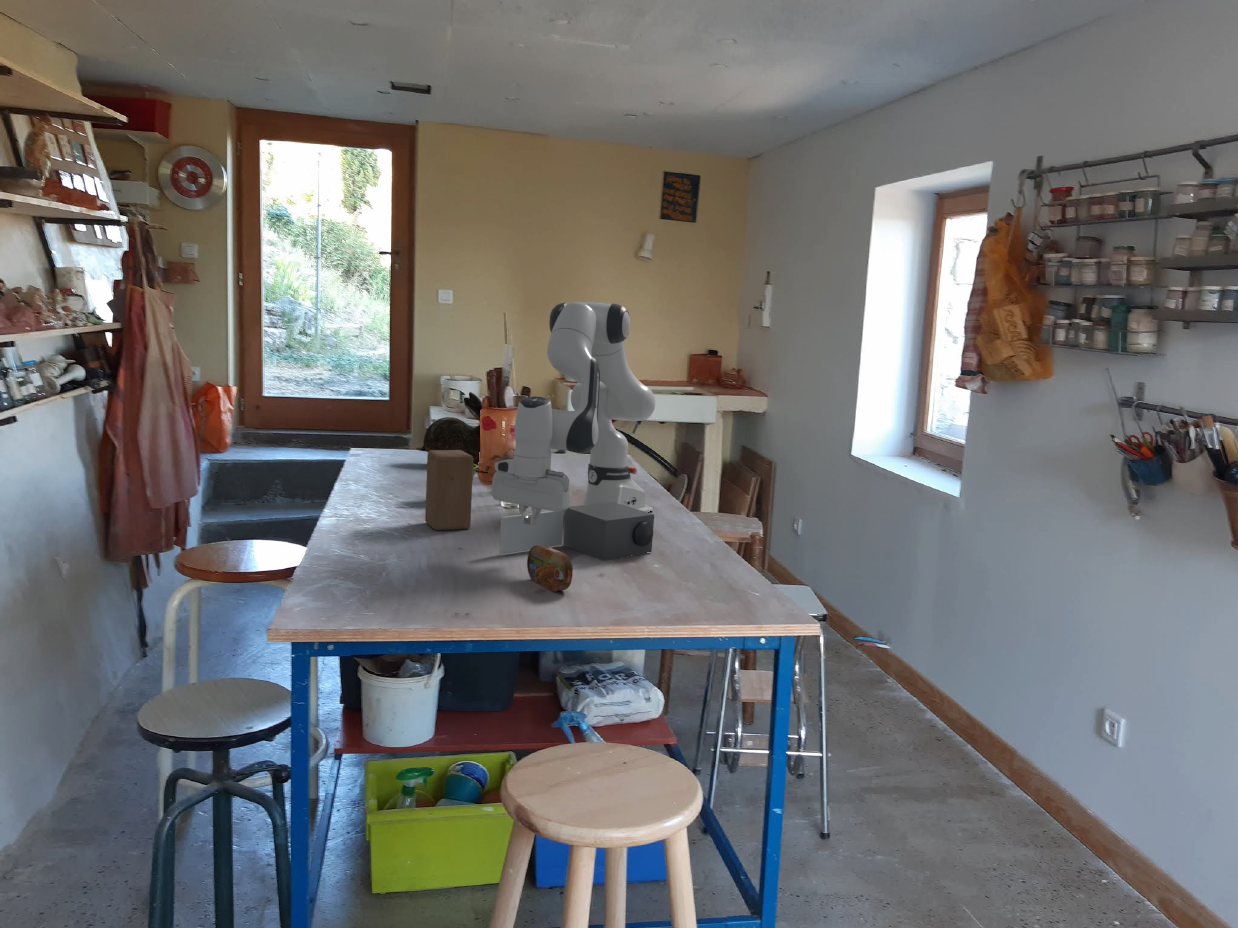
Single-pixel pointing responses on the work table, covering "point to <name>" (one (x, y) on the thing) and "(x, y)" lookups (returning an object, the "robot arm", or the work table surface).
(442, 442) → the sculpture
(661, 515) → the work table surface
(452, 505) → the wooden block
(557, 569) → the tin
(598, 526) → the cabinet body
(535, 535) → the door
